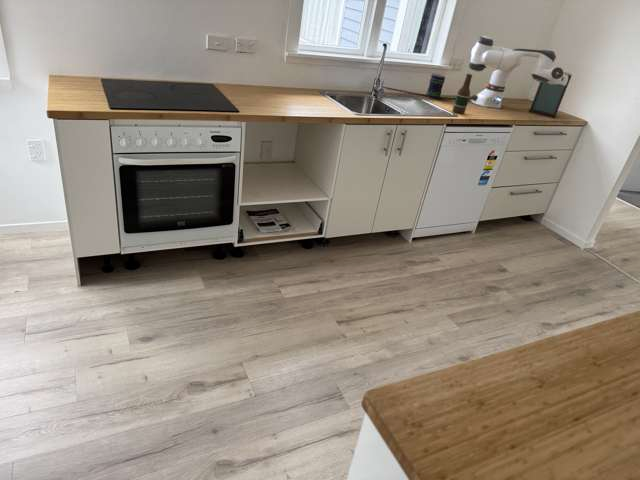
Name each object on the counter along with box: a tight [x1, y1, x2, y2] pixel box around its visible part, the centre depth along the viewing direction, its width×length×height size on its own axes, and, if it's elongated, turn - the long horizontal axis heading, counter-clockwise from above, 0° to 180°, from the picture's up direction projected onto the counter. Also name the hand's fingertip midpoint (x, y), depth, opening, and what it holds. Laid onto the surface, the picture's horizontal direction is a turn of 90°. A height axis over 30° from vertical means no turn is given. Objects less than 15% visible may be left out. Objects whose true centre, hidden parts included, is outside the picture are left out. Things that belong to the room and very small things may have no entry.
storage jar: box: [426, 73, 446, 100], centre depth 339 cm, size 10×10×15 cm
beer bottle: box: [452, 73, 473, 115], centre depth 305 cm, size 8×8×24 cm
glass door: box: [530, 78, 571, 117], centre depth 341 cm, size 9×17×26 cm, turn 65°
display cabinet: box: [528, 71, 573, 119], centre depth 349 cm, size 14×18×30 cm
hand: (549, 80), depth 324 cm, fingers open, 8 cm apart
